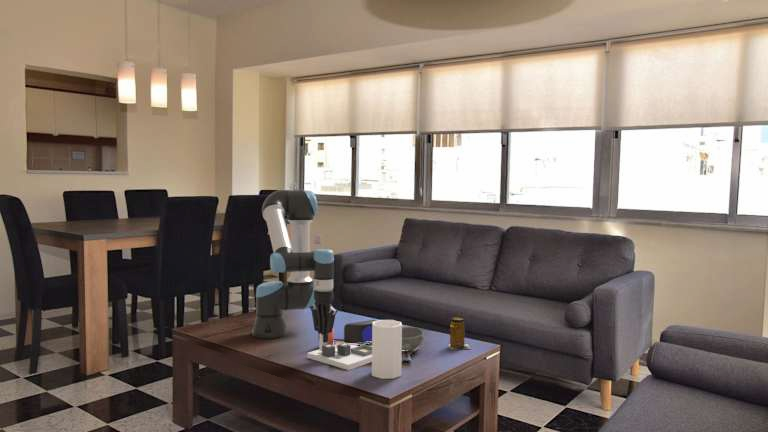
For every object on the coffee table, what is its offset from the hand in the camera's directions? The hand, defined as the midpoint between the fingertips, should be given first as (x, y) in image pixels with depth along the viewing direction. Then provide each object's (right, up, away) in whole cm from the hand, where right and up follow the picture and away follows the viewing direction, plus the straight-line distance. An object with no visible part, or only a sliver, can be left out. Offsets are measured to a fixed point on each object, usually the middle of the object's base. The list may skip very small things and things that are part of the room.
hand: (323, 350), depth 219 cm
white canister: (+24, -5, -16) cm, 30 cm away
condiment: (+55, -4, +20) cm, 59 cm away
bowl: (+31, -4, +14) cm, 34 cm away
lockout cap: (0, -3, +17) cm, 17 cm away
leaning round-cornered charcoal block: (+14, -3, +23) cm, 27 cm away
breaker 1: (+2, -2, -2) cm, 3 cm away
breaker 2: (+8, -2, 0) cm, 8 cm away
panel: (+8, -4, +2) cm, 10 cm away
